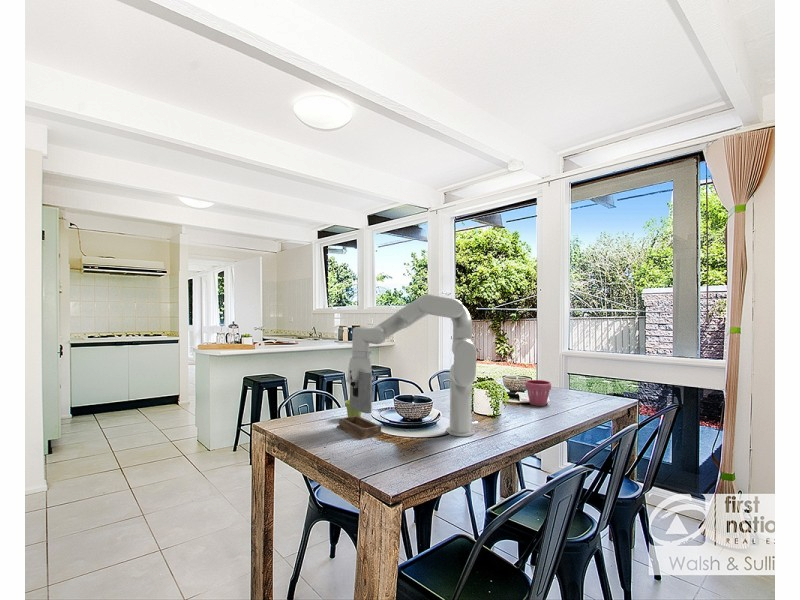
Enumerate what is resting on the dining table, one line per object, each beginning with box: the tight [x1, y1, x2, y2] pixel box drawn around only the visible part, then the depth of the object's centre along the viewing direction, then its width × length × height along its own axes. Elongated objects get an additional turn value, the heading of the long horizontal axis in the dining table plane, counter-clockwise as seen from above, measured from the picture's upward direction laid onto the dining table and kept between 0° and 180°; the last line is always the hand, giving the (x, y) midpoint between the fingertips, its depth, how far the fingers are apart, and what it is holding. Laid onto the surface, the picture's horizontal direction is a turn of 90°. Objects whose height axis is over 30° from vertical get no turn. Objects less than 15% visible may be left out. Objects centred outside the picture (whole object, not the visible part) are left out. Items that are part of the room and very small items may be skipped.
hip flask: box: [349, 371, 373, 414], centre depth 190 cm, size 16×4×20 cm, turn 36°
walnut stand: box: [336, 416, 384, 440], centre depth 190 cm, size 12×20×4 cm, turn 37°
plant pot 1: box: [344, 399, 362, 417], centre depth 209 cm, size 9×9×9 cm
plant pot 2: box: [524, 379, 552, 407], centre depth 245 cm, size 14×14×13 cm
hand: (359, 395), depth 190 cm, fingers closed on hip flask, 3 cm apart
